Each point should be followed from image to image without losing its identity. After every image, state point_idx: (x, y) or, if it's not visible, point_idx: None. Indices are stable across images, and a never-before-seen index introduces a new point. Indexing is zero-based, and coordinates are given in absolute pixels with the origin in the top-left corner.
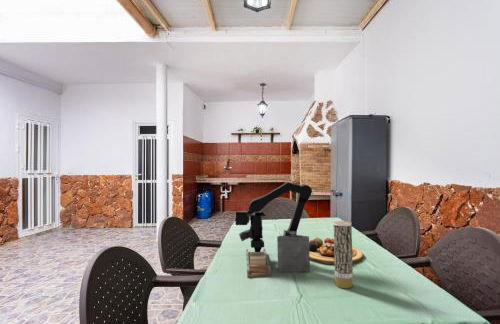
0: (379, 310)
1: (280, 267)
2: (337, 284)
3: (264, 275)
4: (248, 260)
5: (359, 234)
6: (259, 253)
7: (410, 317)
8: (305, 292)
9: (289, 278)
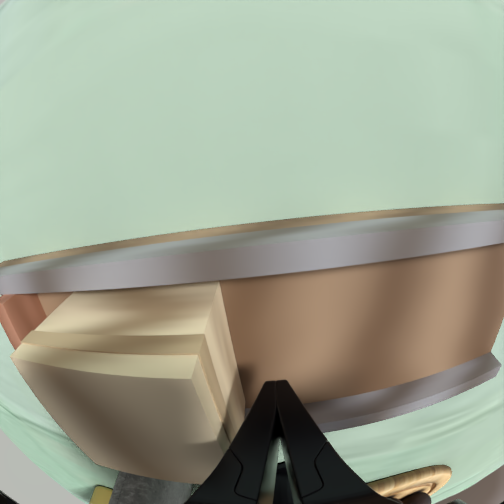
0: (53, 474)
1: None
2: (97, 489)
3: None
4: (172, 280)
5: (457, 492)
6: (165, 458)
7: (59, 483)
8: (32, 430)
9: None
